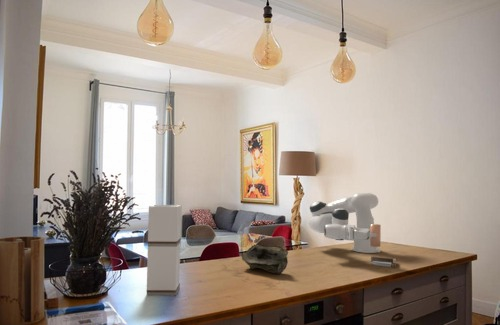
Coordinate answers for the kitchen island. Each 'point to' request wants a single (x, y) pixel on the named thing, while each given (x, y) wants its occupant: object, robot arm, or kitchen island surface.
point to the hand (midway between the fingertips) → (377, 234)
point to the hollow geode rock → (266, 258)
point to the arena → (383, 261)
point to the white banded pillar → (164, 250)
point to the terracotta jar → (376, 240)
